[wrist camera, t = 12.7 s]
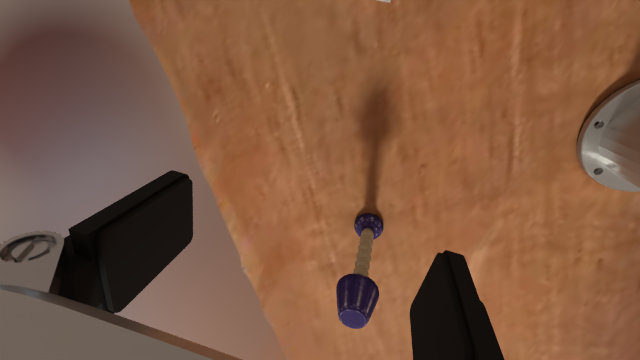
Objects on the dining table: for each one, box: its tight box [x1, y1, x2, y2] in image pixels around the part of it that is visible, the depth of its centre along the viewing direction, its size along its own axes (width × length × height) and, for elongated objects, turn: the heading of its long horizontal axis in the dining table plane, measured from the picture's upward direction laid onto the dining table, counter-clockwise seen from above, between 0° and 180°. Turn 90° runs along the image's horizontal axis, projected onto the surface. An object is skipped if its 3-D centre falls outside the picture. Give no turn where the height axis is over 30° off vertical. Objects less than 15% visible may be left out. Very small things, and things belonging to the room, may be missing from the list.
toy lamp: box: [337, 214, 383, 329], centre depth 36 cm, size 5×5×17 cm
